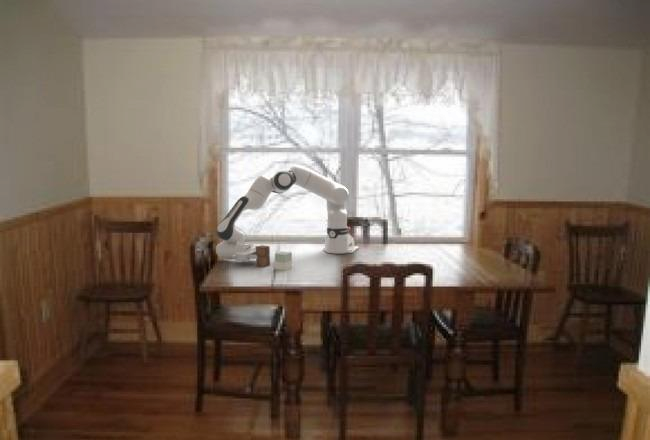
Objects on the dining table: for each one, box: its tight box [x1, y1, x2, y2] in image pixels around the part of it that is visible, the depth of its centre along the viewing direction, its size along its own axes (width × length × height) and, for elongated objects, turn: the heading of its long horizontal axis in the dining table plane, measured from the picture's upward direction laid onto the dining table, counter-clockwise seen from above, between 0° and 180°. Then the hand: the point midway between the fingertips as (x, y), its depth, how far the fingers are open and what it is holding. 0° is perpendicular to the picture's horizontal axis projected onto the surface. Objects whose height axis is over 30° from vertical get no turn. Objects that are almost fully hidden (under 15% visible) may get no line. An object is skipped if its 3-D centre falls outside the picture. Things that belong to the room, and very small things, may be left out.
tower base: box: [274, 259, 293, 271], centre depth 276 cm, size 6×6×4 cm
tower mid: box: [274, 251, 293, 263], centre depth 275 cm, size 6×6×4 cm
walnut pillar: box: [255, 244, 271, 268], centre depth 282 cm, size 5×5×10 cm
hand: (263, 255), depth 282 cm, fingers open, 8 cm apart
